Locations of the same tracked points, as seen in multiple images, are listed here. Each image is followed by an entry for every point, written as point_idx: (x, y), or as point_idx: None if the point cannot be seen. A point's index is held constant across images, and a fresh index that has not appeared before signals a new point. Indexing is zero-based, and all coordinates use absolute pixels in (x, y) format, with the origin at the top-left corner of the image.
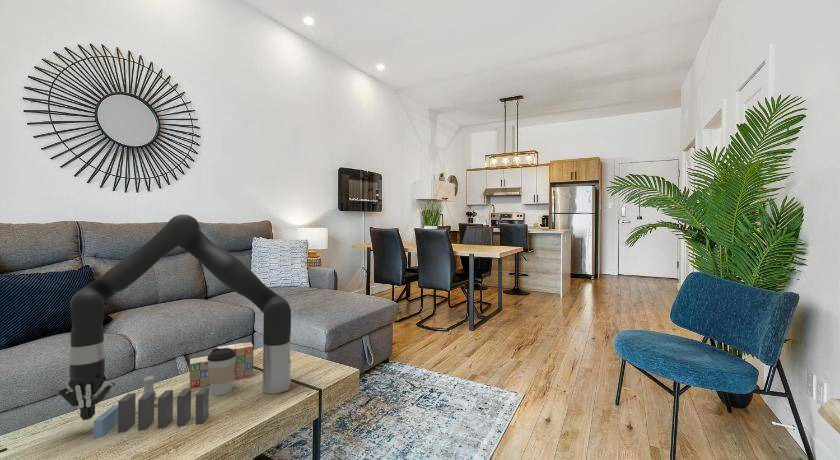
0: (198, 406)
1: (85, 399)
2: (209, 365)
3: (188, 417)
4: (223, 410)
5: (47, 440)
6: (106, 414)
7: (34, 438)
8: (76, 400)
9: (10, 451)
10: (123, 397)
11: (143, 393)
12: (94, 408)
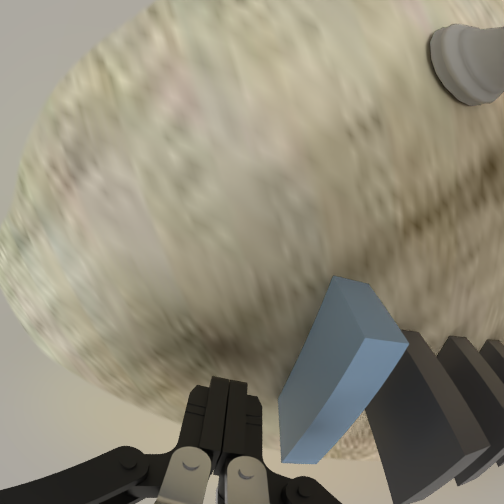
0: None
1: (181, 488)
2: None
3: None
4: None
5: (99, 338)
6: (330, 435)
7: (44, 293)
8: (130, 493)
9: (42, 350)
10: (428, 486)
11: (473, 57)
12: (260, 440)
